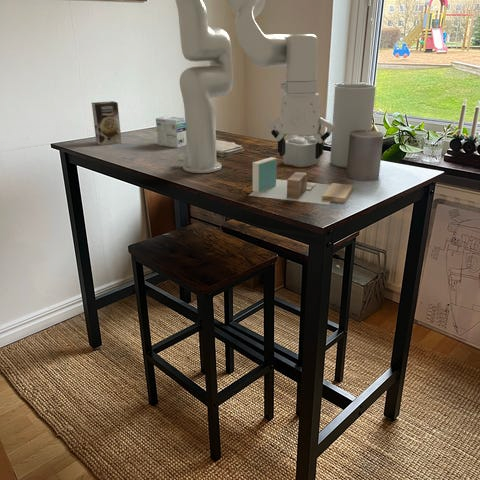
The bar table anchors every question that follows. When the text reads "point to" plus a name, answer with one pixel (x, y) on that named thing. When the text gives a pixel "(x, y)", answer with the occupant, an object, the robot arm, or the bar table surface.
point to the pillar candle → (364, 155)
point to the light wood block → (298, 185)
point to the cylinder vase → (350, 117)
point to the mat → (281, 193)
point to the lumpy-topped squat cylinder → (300, 151)
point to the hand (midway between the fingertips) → (299, 156)
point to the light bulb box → (171, 131)
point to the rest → (337, 192)
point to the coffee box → (106, 122)
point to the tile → (264, 174)
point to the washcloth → (227, 148)
